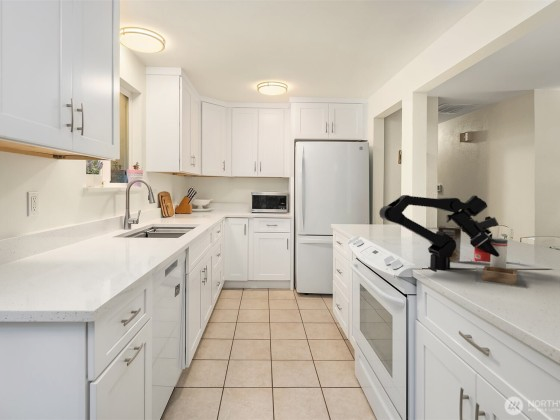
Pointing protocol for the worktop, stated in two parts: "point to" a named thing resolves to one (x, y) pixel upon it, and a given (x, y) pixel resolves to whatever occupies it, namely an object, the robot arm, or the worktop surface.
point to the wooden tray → (499, 275)
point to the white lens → (502, 250)
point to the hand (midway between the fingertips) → (499, 254)
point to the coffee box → (456, 235)
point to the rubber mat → (519, 283)
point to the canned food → (481, 255)
